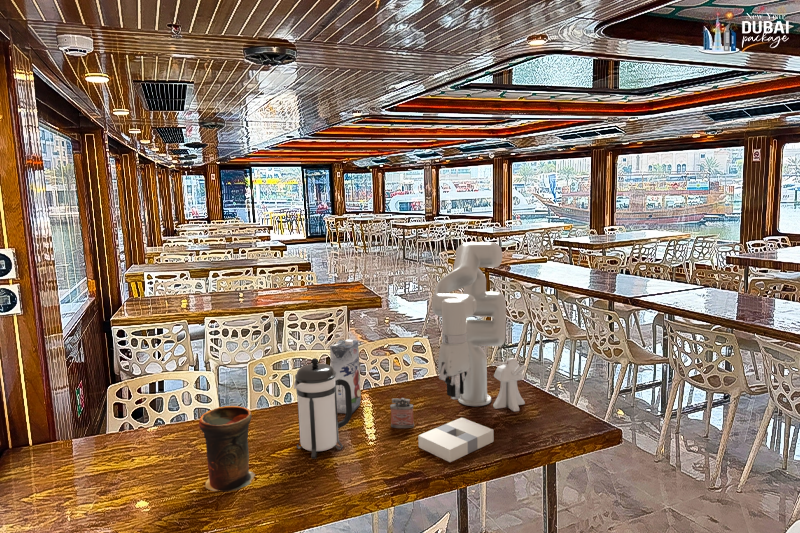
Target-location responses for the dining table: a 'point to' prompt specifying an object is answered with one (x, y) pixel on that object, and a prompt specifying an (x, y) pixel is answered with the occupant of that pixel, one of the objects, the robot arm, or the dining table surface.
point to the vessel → (227, 447)
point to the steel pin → (457, 385)
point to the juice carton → (346, 372)
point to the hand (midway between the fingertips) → (455, 394)
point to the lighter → (401, 413)
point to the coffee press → (319, 407)
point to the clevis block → (455, 439)
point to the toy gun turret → (509, 384)
